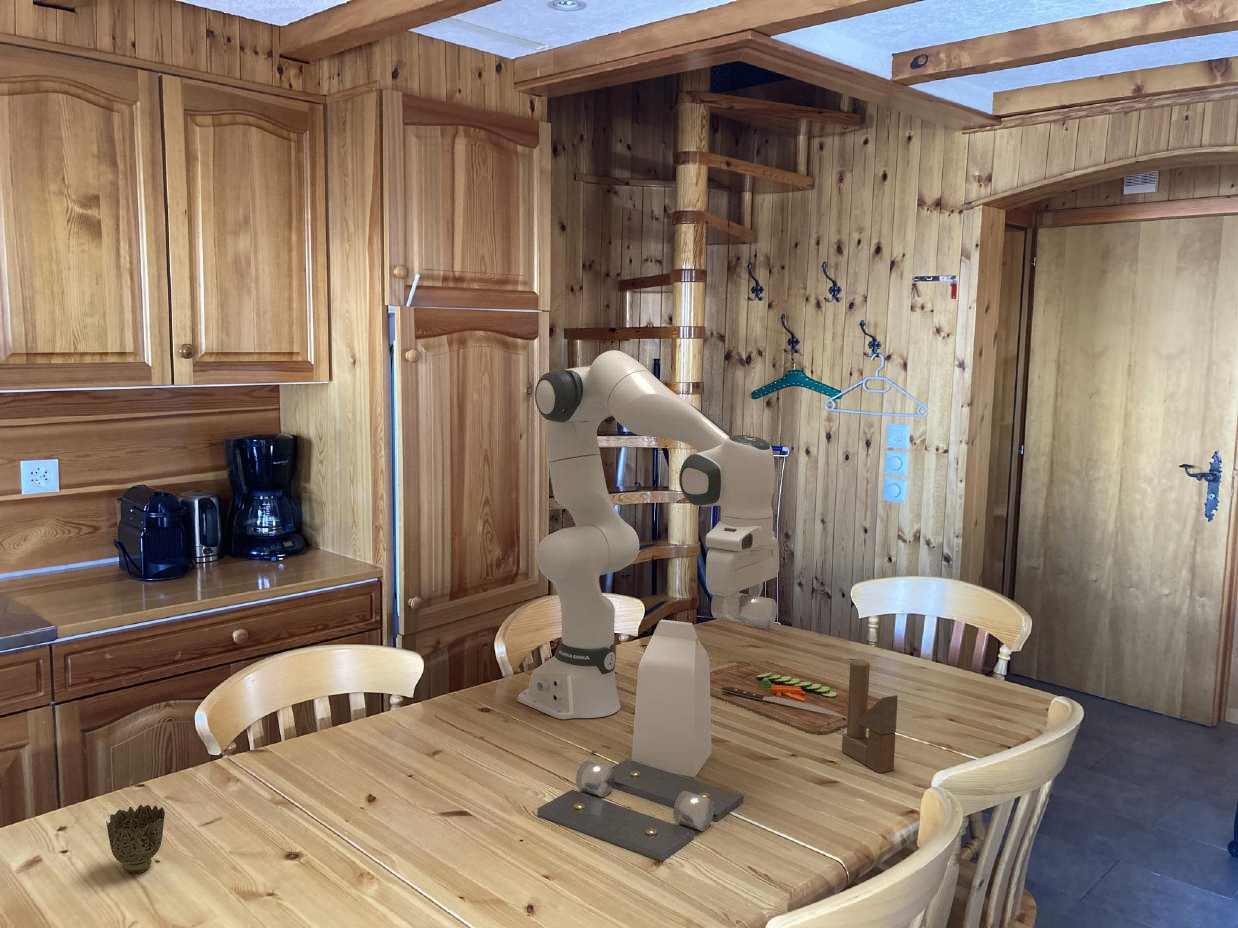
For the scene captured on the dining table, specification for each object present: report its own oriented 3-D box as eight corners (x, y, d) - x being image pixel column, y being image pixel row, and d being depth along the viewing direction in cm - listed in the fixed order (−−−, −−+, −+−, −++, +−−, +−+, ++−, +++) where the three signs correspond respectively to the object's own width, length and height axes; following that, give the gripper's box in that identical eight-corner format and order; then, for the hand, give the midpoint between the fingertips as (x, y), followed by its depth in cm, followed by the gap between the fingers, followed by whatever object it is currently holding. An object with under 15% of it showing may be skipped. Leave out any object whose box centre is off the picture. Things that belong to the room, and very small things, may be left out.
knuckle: (710, 620, 170) (711, 592, 170) (724, 614, 175) (725, 587, 174) (763, 631, 165) (764, 602, 164) (776, 624, 169) (777, 596, 168)
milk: (631, 766, 180) (634, 626, 177) (650, 743, 191) (654, 611, 188) (694, 776, 176) (699, 633, 173) (711, 753, 187) (715, 618, 184)
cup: (121, 856, 144) (119, 803, 143) (173, 855, 145) (172, 802, 144) (99, 883, 137) (97, 828, 136) (154, 882, 138) (152, 827, 137)
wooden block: (878, 773, 179) (883, 677, 177) (840, 752, 188) (845, 659, 186) (894, 770, 180) (899, 674, 178) (856, 749, 190) (860, 657, 188)
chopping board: (908, 714, 211) (908, 700, 211) (829, 743, 194) (830, 728, 193) (749, 662, 245) (750, 649, 245) (670, 683, 228) (671, 670, 227)
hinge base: (537, 815, 160) (537, 785, 159) (626, 765, 180) (627, 738, 180) (662, 861, 146) (663, 829, 145) (743, 801, 166) (744, 773, 166)
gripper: (757, 522, 178) (754, 597, 180) (700, 537, 161) (697, 620, 163) (789, 526, 175) (786, 603, 176) (734, 542, 158) (731, 627, 159)
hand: (743, 611), depth 169 cm, fingers closed on knuckle, 5 cm apart
